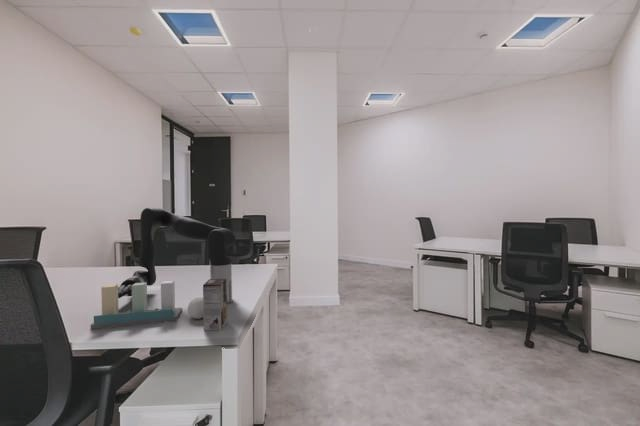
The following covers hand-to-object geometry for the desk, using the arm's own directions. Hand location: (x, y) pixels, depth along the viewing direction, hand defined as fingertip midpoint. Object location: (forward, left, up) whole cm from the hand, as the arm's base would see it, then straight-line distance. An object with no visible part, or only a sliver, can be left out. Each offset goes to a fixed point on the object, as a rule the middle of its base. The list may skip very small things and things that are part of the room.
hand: (117, 295), depth 122 cm
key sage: (-10, +7, -6) cm, 14 cm away
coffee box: (-39, +22, -8) cm, 46 cm away
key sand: (0, +7, -6) cm, 9 cm away
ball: (-32, +12, -8) cm, 35 cm away
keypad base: (-10, +7, -8) cm, 15 cm away
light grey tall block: (-20, +7, -6) cm, 22 cm away
